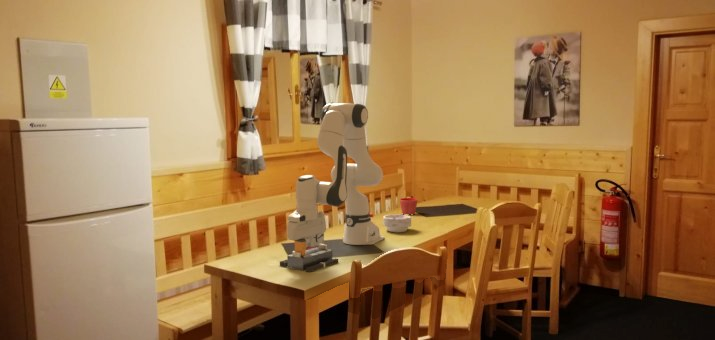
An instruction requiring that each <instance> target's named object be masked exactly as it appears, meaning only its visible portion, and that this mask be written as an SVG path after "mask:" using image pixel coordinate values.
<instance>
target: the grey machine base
mask: <svg viewBox="0 0 715 340" xmlns="http://www.w3.org/2000/svg"><path fill="white" fill-rule="evenodd" d="M286 257H287V258H286V259H287V261H288V266H287V268H288V269H294V270H296V271H297V270H298V271H301V272H304V271H305V272H306V268H307V267H310V266H313V265H317V264H320V262H326V261H329V260H332V259H333V249H330V248H328V244H325V243H324V244H319V247H315V248H312V249H308V250H306V249H305V255H304V256H301V252H296V251H295V250H293V251H292V254H288V255H287V256H286Z"/></svg>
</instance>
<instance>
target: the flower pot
mask: <svg viewBox="0 0 715 340" xmlns="http://www.w3.org/2000/svg"><path fill="white" fill-rule="evenodd" d="M399 202H400V204H399V205H400V208H401V213H403V214H416V210H417V205H418V199H417V198H416V197H415V198H414V197H403V198H400V199H399ZM403 214H402V215H403Z"/></svg>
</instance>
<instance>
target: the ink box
mask: <svg viewBox="0 0 715 340" xmlns="http://www.w3.org/2000/svg"><path fill="white" fill-rule="evenodd" d="M307 241H308V237H307ZM311 243H312V246H310V247H307V248H306V247H305V250H308V249H312V248H315V247H319V244H325V232H324V233H320V234H317V235H313V240H312V242H311Z"/></svg>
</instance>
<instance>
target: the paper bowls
mask: <svg viewBox="0 0 715 340" xmlns="http://www.w3.org/2000/svg"><path fill="white" fill-rule="evenodd" d="M411 216H412V215H409V216H408V215H403V214H386V215H383V216H382V226H384V227H386V229H387V231H389V232H391V233H404V232H407V230H409V229H408V228H410V227H412V217H411Z"/></svg>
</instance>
